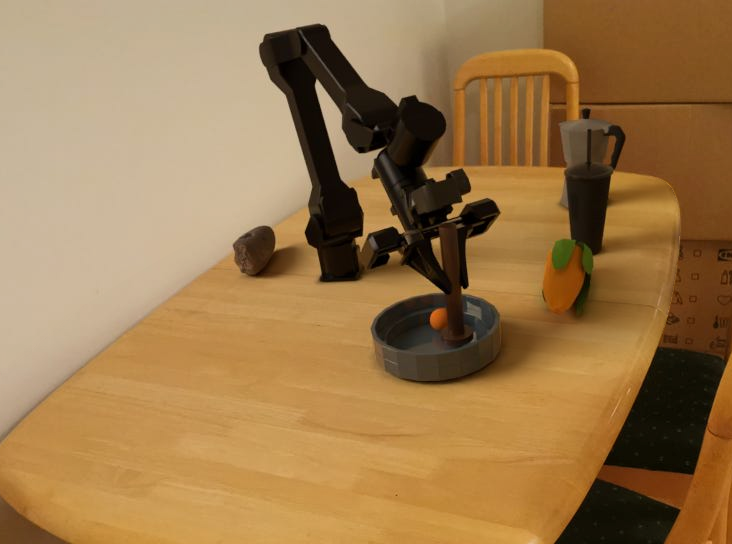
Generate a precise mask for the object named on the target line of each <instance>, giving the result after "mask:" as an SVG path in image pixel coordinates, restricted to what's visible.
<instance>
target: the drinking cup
mask: <svg viewBox="0 0 732 544" xmlns="http://www.w3.org/2000/svg"><path fill="white" fill-rule="evenodd" d="M591 136H592V129H587V161H585V162H580V163H577V164H575V165H573V166H571V167H568V168H567V167H566V168H565V169H564V170H563V176H564V178H565V177H566V186H567V198H568V208H567V209H568V220H569V231H570V233H569V234H570V239H571V240H576V242H575V245H576V244H577V243H579V242H583V243H584V244H585V245H586V246H587V247H588V248H590V249H591V252H592V255H593V256H594V255H597V254H600V253H601V251H602V247H603V239H604V231H605V225H606V218H607V209H608V203H609V200H608V197H609V196H610V189H611V188H610V187H611V179H612V175H614V171H615V170H613V168H612V167H611V166H609V165H610V164H605V163H604V162H603V163H601V162H596V161H591Z"/></svg>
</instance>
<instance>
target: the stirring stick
mask: <svg viewBox="0 0 732 544" xmlns="http://www.w3.org/2000/svg"><path fill="white" fill-rule="evenodd" d="M439 236H440V238H439V245H440V246H439V247H440V256H441V268H442V270H443V272H444V274H445V276H446V277H447V279H448V281H449V284H450V287H451V289H452V293H451V294H450V295H446V294H445V301H446V311H447V322H448V326H446V327H444V328H443V329H442V330H441V332H440V335H441V341H442V342H443V343H444V344H446V345H449V346H462V345H465V344H468V343H469V342H471V341H472V340H473V329H472V328H471V327H470V326H468V325H465V324H464V314H463V301H462V294H463V290H462V289H463V288H462V286H461V276H460V263H459V251H458V238H457V225H456V224H455V223H450V222H449V223H443V224H441V225H439Z"/></svg>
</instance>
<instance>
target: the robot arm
mask: <svg viewBox="0 0 732 544" xmlns="http://www.w3.org/2000/svg"><path fill="white" fill-rule="evenodd" d="M262 38H263V39H262V42H260V43H259V44H258V45H259V46H258V54H259V58H260V62H261V63H262V66H263V67H265V69H266V72H267V75H268V77H269V80H270V81H271V82H272V83H273V84H274V86H276V87H277V89H279V91H280V92H282V93H283V95H284V96H285V98H286V101H287V105H288V109H289V112H290V115H291V119H292V122H293V126H294V128H295V132H296V135H297V136H296V137H297V139H298V142H299V146H300V149H301V152H302V156H303V159H304V164H305V165H306V170H307V173H308V176H309V180H310V183H311V191H310V195H309V199H308V203H307V209H308V213H309V219H308V220H307V224H306V226H305V229H304V236H305V239H306V242H307V245H309V246H310V247H312V248H314V249H316V253H317V256H318V263H319V266H320V268H319V269H320V273H321V274H320V276H319V278H318V281H319V282H337V281H355V280H356V279H357V277H358V276H359V273H360V272H361V270H362V269H363V267H364V269H365V271H367V272H369V271H372V270H373V271H374V270H376V269H379V268H382V267H386V266H387V265H388V262H389V261H390V258H391V256H390V254H392V253H396V252H398V254H399V255H400V257H401V259H400V260H399V262H398V264H399V265H400V267H404V266H407V267H409V268H410V269H412V270H414V271H415V272H416V273H418V274H419V275H422V277H424V278H425V279H426V280H428V281H429V282H430V283H431V284H433V285H434V286H435V287H436V288H437V289H439V290H440V291H441V292H442V293H445V294H446V295H450V294H451V293H452V289H451V287H450V284H449V281H448V279H447V277H446V276H445V274H444V272H443V269H442V265H441V264H440V263H439V261H438V259H437V257H436V255H435V252H434V249H433V244H432V243H433V242H432V241H433V240H436V239H440V236H439V225H441V224H443V223H449V222H450V223H455V224H456V225H457V238H458V251H459V263H460V276H461V289H463V290H467V289H469V287H470V283H469V274H468V272H469V271H468V265H467V255H466V253H467V252H466V249H467V248H466V243H467V240H469V239H473V238H476V237H478V236H482V235H484V234H485V233H487V232H488V231H489V230H490V228H491V227H492V226H493V224H494V223H495V221H497V219H498V218H499V216H500V215H501V214H502V212H501V210H500V209H499V206H498V204H497V203H496V201H495V200H493V199H491V198H489V197H485V198H482V199H479V200H475V201H472V202H467V203H466V204H465V205H464V207H463V208H462V210H461V212H459V215H457V216H453V217H450V218H448V216H449V215H451V214H452V213H453V211H454V207H453V205H457V204H462V203H464V201H463V196H465V195H468V194H470V193H471V192H472V185H471V182H470V179H469V176H468V175H467V173H466V172H465V170H464V169H463V167H462V168H458V169H453V170H451V171H450V172H447V173H446V174H445V179H442V180H439V181H437V180H435V179H434V177H430V178H428V176H427V174H426V172H425V170H424V168H423V166H425V165H427V163H428V162H429V161H430V159H431V157H432V156H433V154H434V152H435V151H436V149H437V147H438V146H439V143H440V142H441V140H442V139H443V137H444V135H445V133H446V130H447V120H446V117H445V115H444V113H443V112H442V111H441V110H438V109H437V107H435V106H433V105H432V104H430V103H427V102H425V101H424V102H423V101H420V100H419V98H418V96H417V95H416V94H412V95H408V96H404V97H401V98H400V101H399V103H398V104H397V103H396V102H395V101H394V100H392V99H391V98H390V97H389V96H388V95H387V94H386V93H385V92H384V91H383V92H382V91H381V90H379V89H375V88H373V87H370V86H369V85H368V84H367V83H366V82H365V81H364V79H363V78H362V77H361V75H360V74H359V73H358V71H357V70H356V69H355V68H354V66H353V65H352V64H351V62H350V61H349V60H348V59H347V57H346V56H345V54H344V53H343V52H342V51H341V49H340V48H339V47H338V46H337V44H336V42H335V41H334V40H333V39H332V35H331V32H330V29H329V28H328V26H327V25H326V24H321V23H318V22H317V23H312V24H307V25H302V26H296V27H294V28H290V29H284V30H280V31H279V30H278V31H274V32H268V33H265V34H264V35H263V37H262ZM317 81H318V83H319V84H320V85H321V86H322V88H323V89H324V91H325V92H326V93H327V95H328V96H329V98H330V99H331V100H332V102H333V103H334V104H335V106H336V107H337V109H338V110H339V112H340V114H341V130H342V132H343V134H344V136H345V139H346V140H347V143H348V144H349V146H350V147H352V149H353V150H354V151H355V152H356V153H358V154H359V155H361V154H368V153H372V152H376V151H379V150H380V151H379V152H378V154H377V156H376V157H375V158H373V166H372V169H371V172H370V173H371V179H372V180H378V179H379V181H380V183H381V184H382V187H383V189H384V191H385V193H386V195H387V198H388V199H389V201H390V204H391V206H390V209H389V211H390V213H391V215H392V217H395V216H397V218H398V220H399V222H400V224H401V227H402V229H403V232H402V233H400V232H399V230H398V228H396V227H395V226H389V227H386V228H383V229H379V230H376V231H372V232H369V233H368V234H367V236H366V238H365V241H364V243H363V244H362V245H363V246H362V248H361V247H360V244H358V243H357V238H362V237H364V223H365V222H364V221H365V213H364V211H363V208H362V205H361V204H360V201H359V196H358V192H357V190H356V188H355V187H350V186H349V185H348V184H347V183H346V182H345V181H344V180H343V179H342V178H341V174H340V171H339V168H338V163H337V159H336V157H335V153H334V150H333V146H332V143H331V139H330V136H329V135H330V134H329V132H328V129H327V124H326V121H325V117H324V113H323V111H322V106H321V103H320V100H319V99H320V98H319V96H318V93H317V88H316V83H317Z"/></svg>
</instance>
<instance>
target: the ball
mask: <svg viewBox="0 0 732 544" xmlns="http://www.w3.org/2000/svg"><path fill="white" fill-rule="evenodd" d="M430 323H431V325H432V327H433V328H434V329H436V330H438V331H441V330H442V329H443V328H444V327H446V326H448V322H447V311H446V309H443V308H440V309H437V310H435V311H434V312H433V313H432V314H431V316H430Z"/></svg>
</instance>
